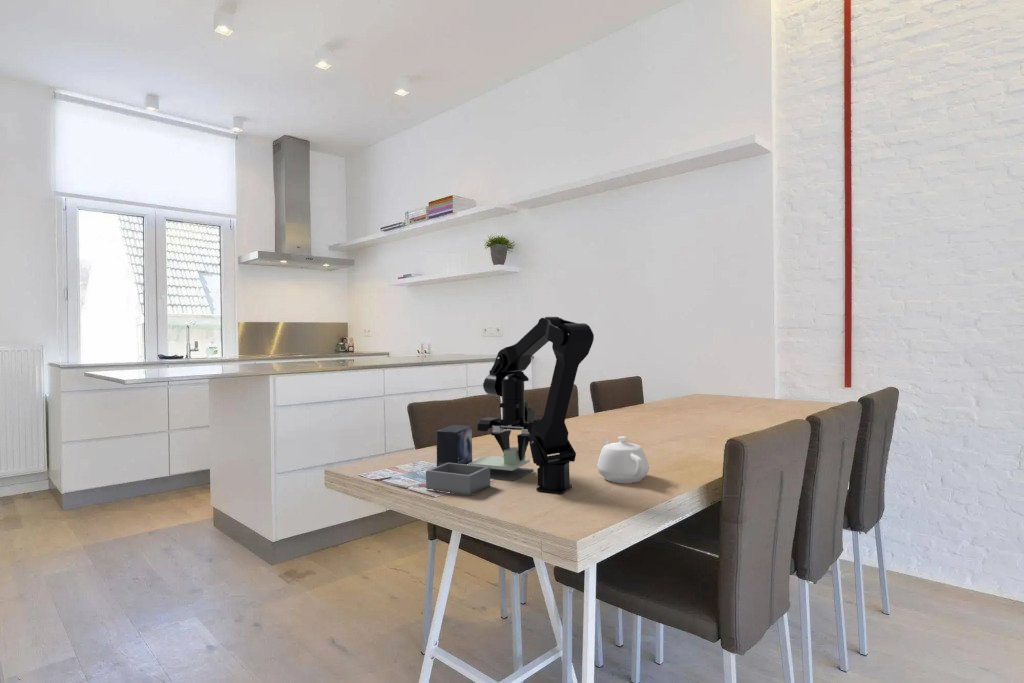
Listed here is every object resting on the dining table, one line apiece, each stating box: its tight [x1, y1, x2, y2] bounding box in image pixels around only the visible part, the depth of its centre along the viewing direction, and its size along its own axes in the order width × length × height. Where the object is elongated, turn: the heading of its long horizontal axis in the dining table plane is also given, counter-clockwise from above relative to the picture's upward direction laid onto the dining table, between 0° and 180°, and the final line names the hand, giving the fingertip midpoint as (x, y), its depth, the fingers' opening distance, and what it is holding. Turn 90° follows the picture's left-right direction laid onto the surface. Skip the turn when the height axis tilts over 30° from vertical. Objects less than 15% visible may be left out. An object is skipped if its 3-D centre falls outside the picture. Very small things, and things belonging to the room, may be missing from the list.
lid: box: [468, 446, 530, 471], centre depth 146 cm, size 13×10×5 cm
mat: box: [490, 467, 534, 482], centre depth 147 cm, size 14×11×1 cm
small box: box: [436, 424, 473, 467], centre depth 155 cm, size 11×6×10 cm, turn 161°
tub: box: [425, 463, 491, 497], centre depth 133 cm, size 12×9×4 cm
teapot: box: [596, 435, 650, 484], centre depth 139 cm, size 20×12×10 cm, turn 14°
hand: (514, 459), depth 144 cm, fingers closed on lid, 3 cm apart
